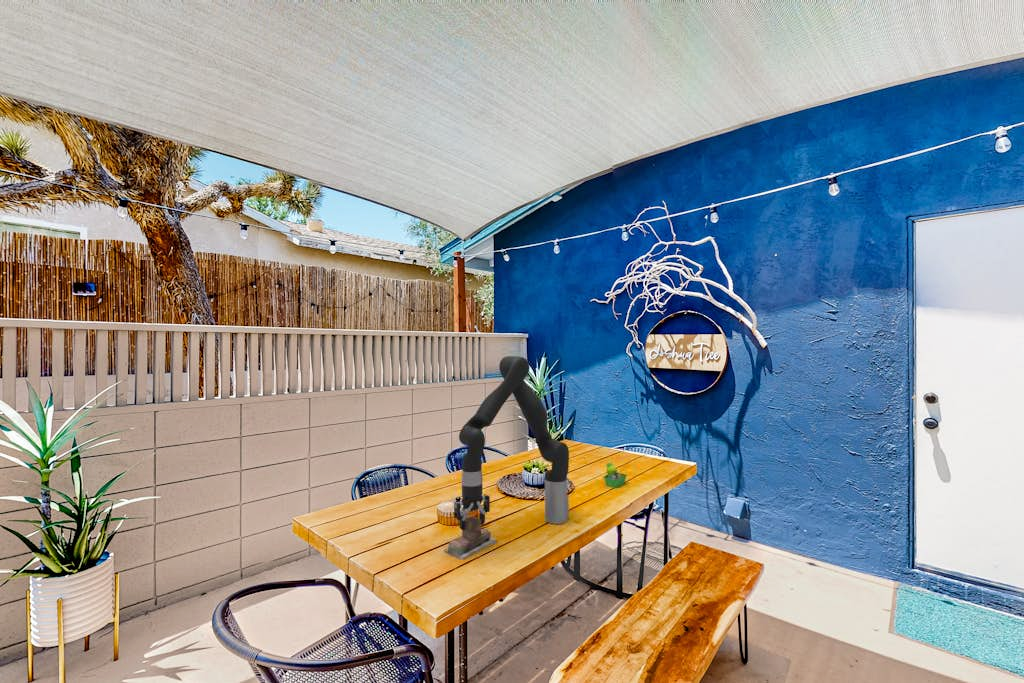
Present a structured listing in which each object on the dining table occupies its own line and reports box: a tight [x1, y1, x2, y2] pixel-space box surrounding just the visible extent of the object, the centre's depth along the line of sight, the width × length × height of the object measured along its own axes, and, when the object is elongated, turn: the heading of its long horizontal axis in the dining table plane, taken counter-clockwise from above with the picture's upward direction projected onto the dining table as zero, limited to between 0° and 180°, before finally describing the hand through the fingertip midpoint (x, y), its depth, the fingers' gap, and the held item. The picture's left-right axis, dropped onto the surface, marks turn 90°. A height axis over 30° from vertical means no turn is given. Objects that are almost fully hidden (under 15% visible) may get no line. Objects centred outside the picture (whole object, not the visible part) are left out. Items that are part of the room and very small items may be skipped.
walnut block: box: [461, 515, 482, 540], centre depth 157 cm, size 5×5×6 cm
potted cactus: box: [603, 462, 628, 489], centre depth 226 cm, size 11×9×11 cm
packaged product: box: [443, 528, 498, 561], centre depth 158 cm, size 18×5×10 cm
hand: (472, 527), depth 157 cm, fingers open, 7 cm apart
